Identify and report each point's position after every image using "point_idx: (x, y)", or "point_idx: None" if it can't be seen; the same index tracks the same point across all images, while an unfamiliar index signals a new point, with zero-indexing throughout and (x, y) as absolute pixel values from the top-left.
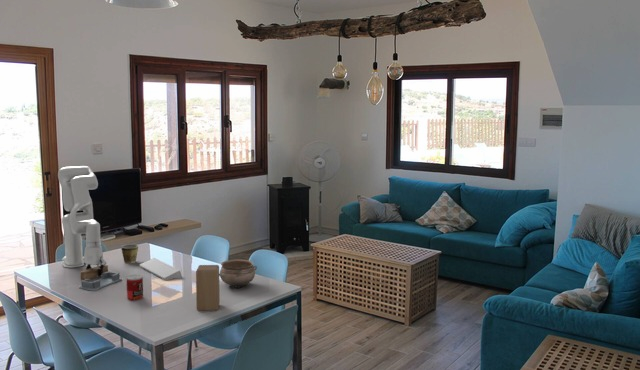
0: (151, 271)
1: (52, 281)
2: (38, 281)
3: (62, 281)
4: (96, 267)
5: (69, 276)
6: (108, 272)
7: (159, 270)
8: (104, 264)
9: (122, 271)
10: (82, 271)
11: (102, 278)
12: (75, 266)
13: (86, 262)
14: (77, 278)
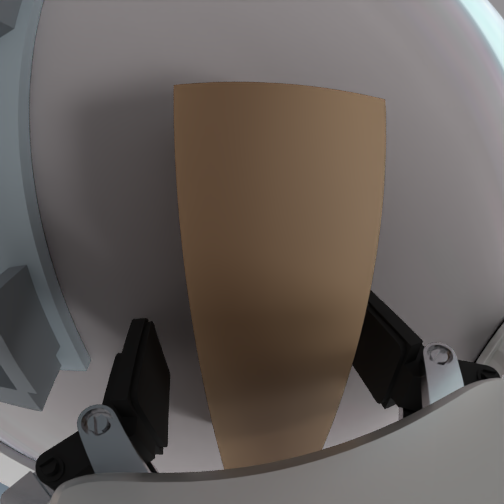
0: (25, 465)
1: (464, 18)
2: (501, 23)
3: (418, 17)
4: (288, 436)
5: (473, 181)
6: (19, 386)
7: (1, 464)
8: (24, 485)
9: (174, 468)
10: (347, 118)
11: (14, 269)
12: (494, 342)
13: (478, 417)
14: (386, 152)
